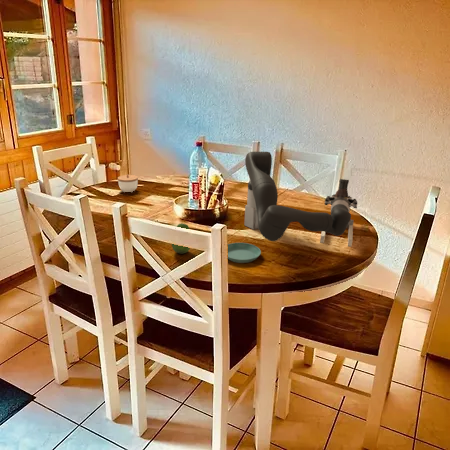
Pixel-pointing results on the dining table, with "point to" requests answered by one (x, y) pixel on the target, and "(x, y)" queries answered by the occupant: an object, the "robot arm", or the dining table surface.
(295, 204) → the dining table surface
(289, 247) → the dining table surface
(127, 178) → the lidded jar
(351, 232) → the channel
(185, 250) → the avocado
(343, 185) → the sauce bottle
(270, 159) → the robot arm
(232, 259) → the saucer
